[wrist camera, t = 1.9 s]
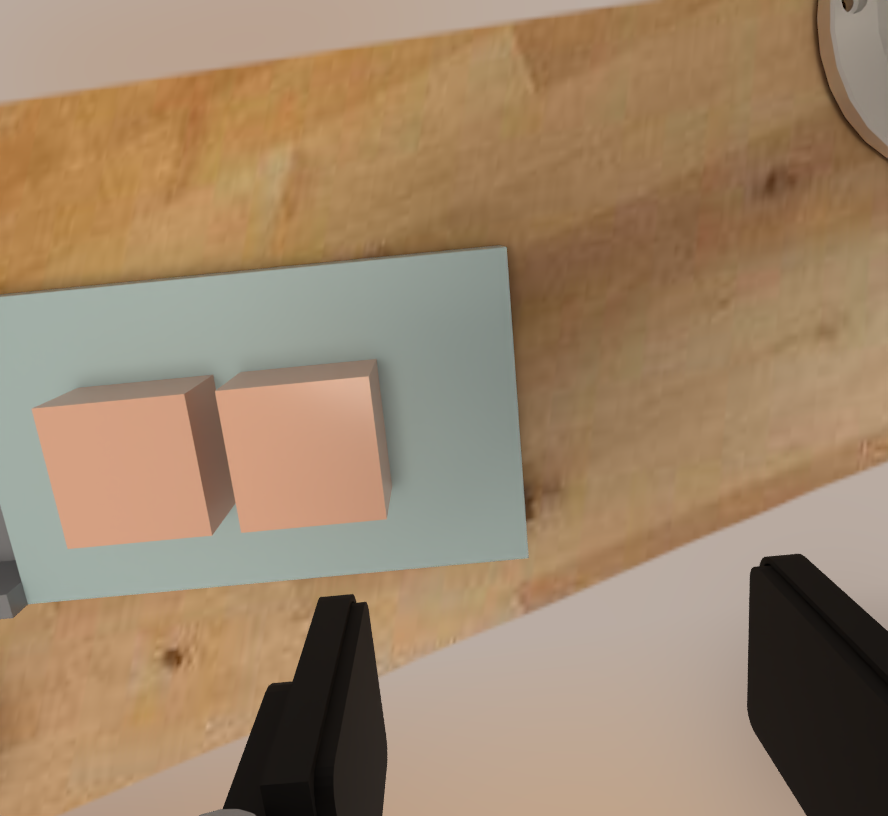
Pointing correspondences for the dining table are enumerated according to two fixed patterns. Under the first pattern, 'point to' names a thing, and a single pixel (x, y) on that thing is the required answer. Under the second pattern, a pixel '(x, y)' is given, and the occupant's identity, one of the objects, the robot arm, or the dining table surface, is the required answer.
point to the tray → (9, 577)
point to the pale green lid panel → (270, 347)
